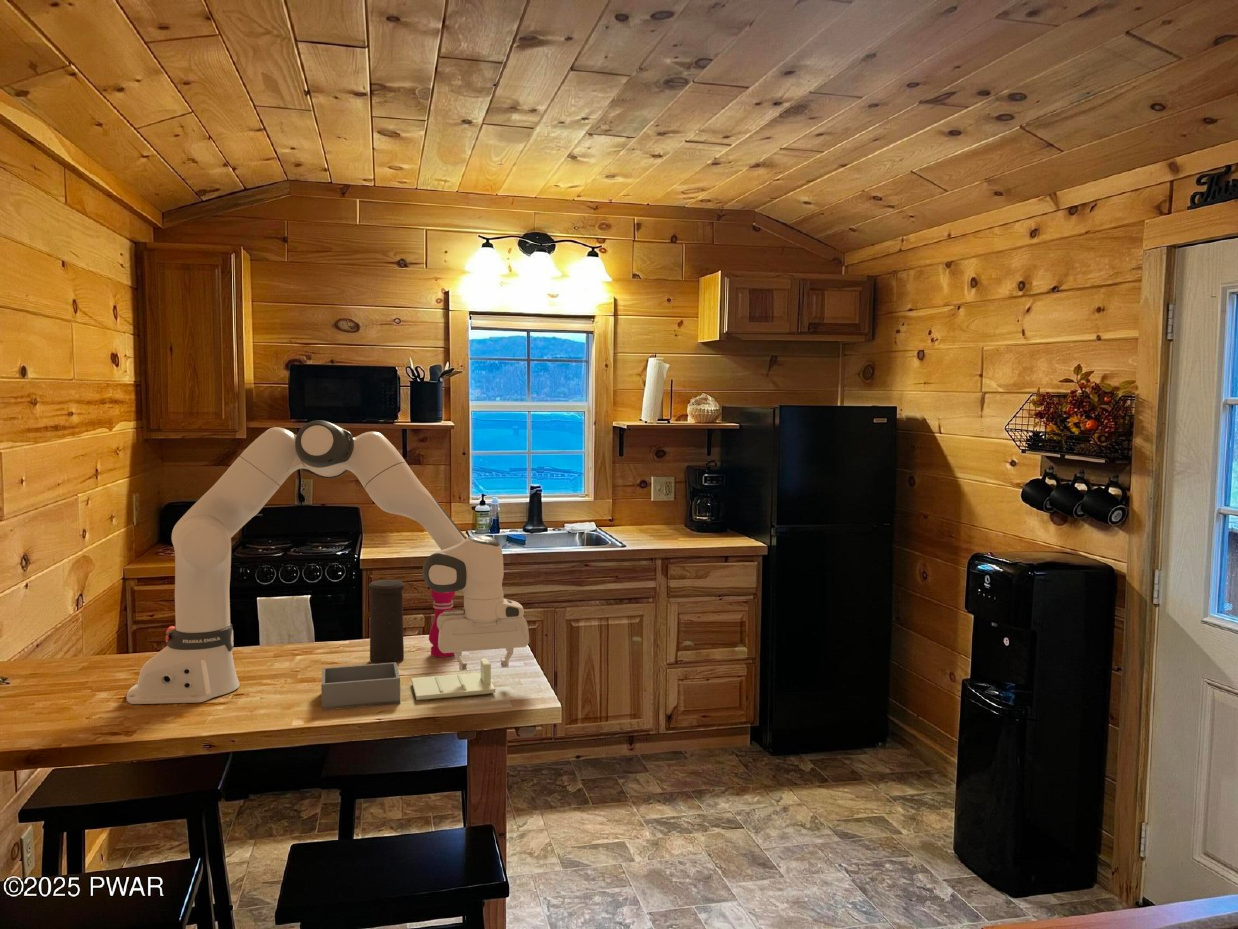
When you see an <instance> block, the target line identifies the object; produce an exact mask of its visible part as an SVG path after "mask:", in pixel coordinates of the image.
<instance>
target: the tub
mask: <svg viewBox="0 0 1238 929" xmlns="http://www.w3.org/2000/svg"><path fill="white" fill-rule="evenodd" d="M320 687H321V690H320V691H321V692H320V693H321V711H330V710H331V709H332V710H340V709H339V708H343V709H353V708H364V707H374V706H385V705H387V706H388V705H397V704H401V677H400V673H399V668H398V663H396V662H394V663H381V664H373V663H369V664H357V665H344V666H331V667H322V668H321V684H320ZM337 708H338V709H337Z"/></svg>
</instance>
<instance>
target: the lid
mask: <svg viewBox="0 0 1238 929" xmlns="http://www.w3.org/2000/svg"><path fill="white" fill-rule="evenodd" d="M491 671H492V665H491V662H490V660H488V658H480V672H469V673H460V674H459V673H457V674H447V675H446V674H445V675H433V676H422V677H421V676H420V677H411V685H412V688H413V692H414V696H415V699H416V700H417V701H418V700H432V699H433V700H435V699H443V698H444V699H445V698H456V697H469V696H479V695H486V694H487V695H488V694H495V693H496V688H495V686H494V684H493V682H492V677H491V676H492V674H491V673H492V672H491Z"/></svg>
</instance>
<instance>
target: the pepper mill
mask: <svg viewBox="0 0 1238 929" xmlns="http://www.w3.org/2000/svg"><path fill="white" fill-rule="evenodd" d="M430 596H431V598H432V599H433V602H432V604H433V606H432V608H433V609H434V619H433V622H432V625H431V628H430V629H429V633H428V640H429V642H430V644H431V645H432V646H431V647H430V655H431V656H432V657H435V658H436V657H437V658H447V657H452V656H455V655H454V652H451V653H442V652H441V651H440V649H439V647H438V638H439V629H438V627H437V618H438V616H439V615H440V614H441V613H443V612H444V611H447V610H450V611H452V608H453V607H454V601H453V598H455V596H456V591H454V592H448V593H439V592H435V591H433V590H432V589H430ZM443 615H444V614H443ZM441 616H442V615H441Z"/></svg>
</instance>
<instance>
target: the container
mask: <svg viewBox="0 0 1238 929" xmlns="http://www.w3.org/2000/svg"><path fill="white" fill-rule="evenodd" d="M367 588H368V590H369V592H370V594H369V596H370V599H369V600H370V603H369V604H370V606H369V611H370V613H369V614H370V615H369V618H370V619H369V628H370V630H369V662H370V664H381V663H394V662H396V663H397V664H398V663H400V662H402V661H403V660H404V659H405V658H404V657H405V651H404V650H405V648H404V646H405V645H404V644H405V643H404V609H403V608H404V606H403V605H404V602H403V599H404V594H403V590H404V589H405V583H404V582H403V581H401V580H399V579H379V580H378V579H377V580H373V581H371V582H369V584H368V586H367Z"/></svg>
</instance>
